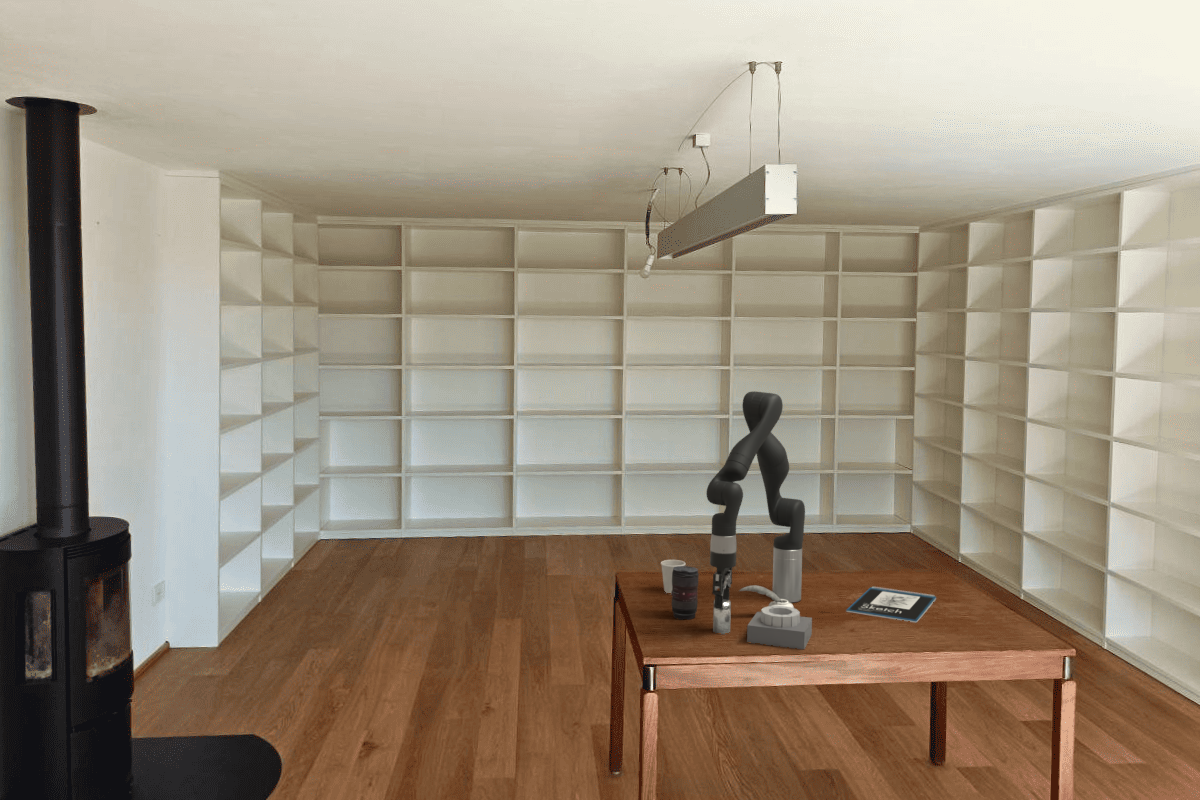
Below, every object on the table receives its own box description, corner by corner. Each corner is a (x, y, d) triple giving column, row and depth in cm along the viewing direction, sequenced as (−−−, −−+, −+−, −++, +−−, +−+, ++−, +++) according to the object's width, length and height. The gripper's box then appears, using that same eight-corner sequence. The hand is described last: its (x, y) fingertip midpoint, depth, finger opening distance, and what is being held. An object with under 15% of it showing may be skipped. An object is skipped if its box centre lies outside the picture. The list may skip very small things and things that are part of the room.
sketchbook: (846, 613, 306) (846, 607, 305) (871, 591, 331) (871, 585, 331) (916, 624, 295) (916, 617, 295) (936, 600, 321) (936, 594, 321)
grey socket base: (756, 628, 288) (757, 601, 288) (811, 634, 283) (812, 607, 282) (747, 642, 275) (747, 614, 274) (804, 649, 270) (804, 621, 269)
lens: (715, 628, 288) (715, 598, 287) (731, 630, 286) (732, 600, 285) (711, 633, 283) (711, 602, 283) (728, 635, 282) (728, 604, 281)
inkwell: (800, 621, 295) (801, 588, 295) (742, 622, 293) (743, 590, 292) (790, 612, 305) (791, 580, 304) (734, 613, 302) (735, 582, 302)
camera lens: (696, 621, 294) (697, 572, 293) (669, 619, 296) (670, 571, 295) (699, 613, 302) (699, 566, 301) (673, 611, 304) (673, 564, 302)
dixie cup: (662, 587, 331) (662, 559, 330) (686, 589, 329) (687, 560, 329) (658, 594, 323) (659, 564, 322) (683, 596, 321) (684, 566, 320)
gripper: (730, 555, 275) (729, 612, 276) (741, 545, 288) (739, 599, 289) (704, 553, 277) (703, 609, 278) (716, 543, 291) (715, 596, 292)
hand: (722, 604), depth 284 cm, fingers open, 8 cm apart
